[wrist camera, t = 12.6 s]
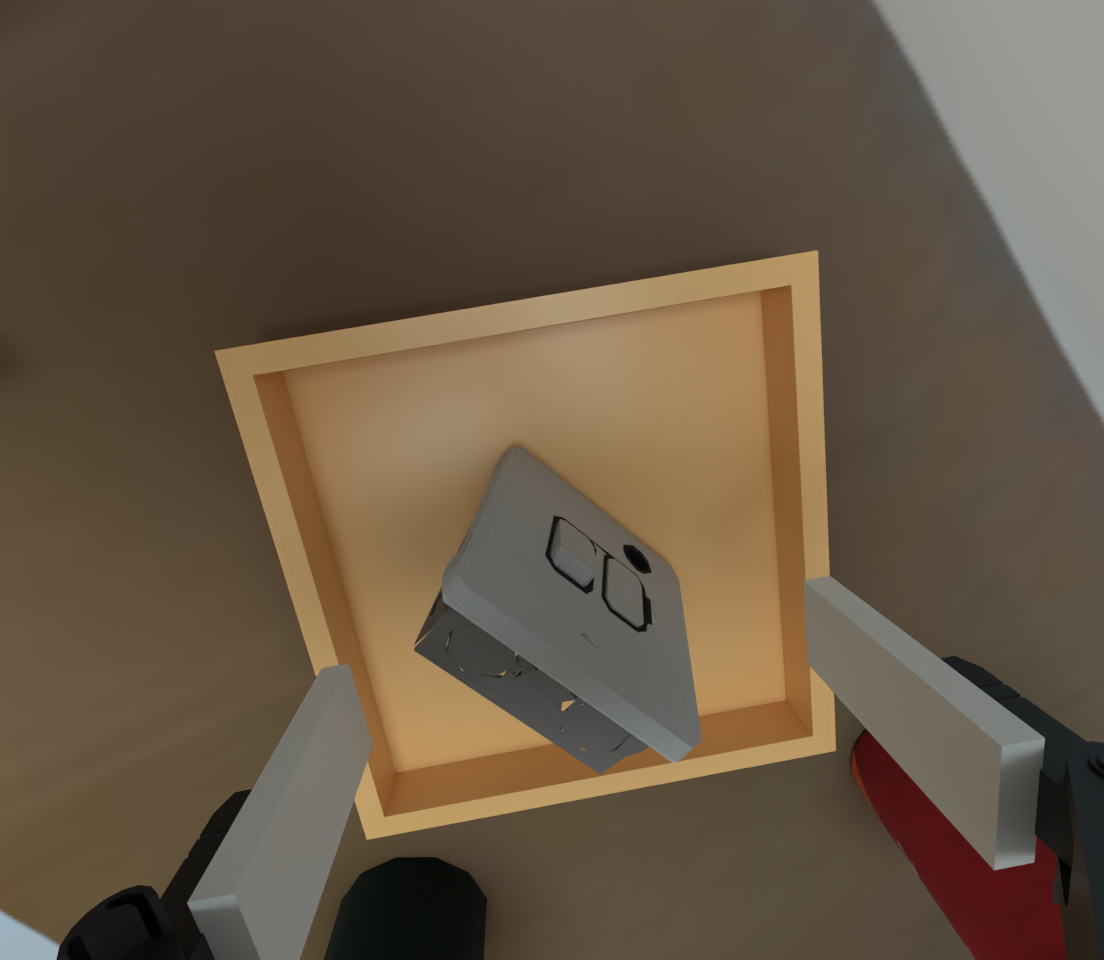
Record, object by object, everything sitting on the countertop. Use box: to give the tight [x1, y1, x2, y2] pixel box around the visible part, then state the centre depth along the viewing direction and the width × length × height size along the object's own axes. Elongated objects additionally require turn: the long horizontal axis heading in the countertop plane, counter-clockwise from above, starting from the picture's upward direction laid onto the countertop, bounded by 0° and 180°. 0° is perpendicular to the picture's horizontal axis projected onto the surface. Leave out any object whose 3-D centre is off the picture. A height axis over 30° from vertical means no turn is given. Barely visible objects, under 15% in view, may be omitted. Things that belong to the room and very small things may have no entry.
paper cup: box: [851, 729, 1067, 960], centre depth 22 cm, size 8×8×14 cm
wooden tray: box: [215, 250, 836, 840], centre depth 23 cm, size 21×21×4 cm
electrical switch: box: [414, 446, 702, 774], centre depth 20 cm, size 9×5×9 cm, turn 50°
